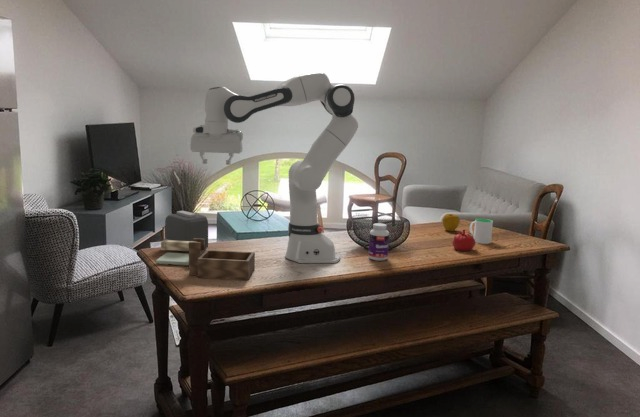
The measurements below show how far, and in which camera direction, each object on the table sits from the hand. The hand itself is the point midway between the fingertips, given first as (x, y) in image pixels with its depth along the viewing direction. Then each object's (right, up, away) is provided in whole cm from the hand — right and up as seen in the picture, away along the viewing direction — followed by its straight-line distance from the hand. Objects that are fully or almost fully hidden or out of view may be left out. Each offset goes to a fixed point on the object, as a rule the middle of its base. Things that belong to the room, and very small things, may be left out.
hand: (216, 164), depth 213 cm
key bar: (-10, -33, -19) cm, 39 cm away
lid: (-12, -39, -5) cm, 41 cm away
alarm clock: (-16, -35, +14) cm, 41 cm away
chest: (+5, -41, -18) cm, 45 cm away
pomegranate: (+105, -36, +28) cm, 115 cm away
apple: (+109, -29, +65) cm, 130 cm away
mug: (+117, -33, +45) cm, 130 cm away
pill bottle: (+65, -39, +8) cm, 76 cm away
